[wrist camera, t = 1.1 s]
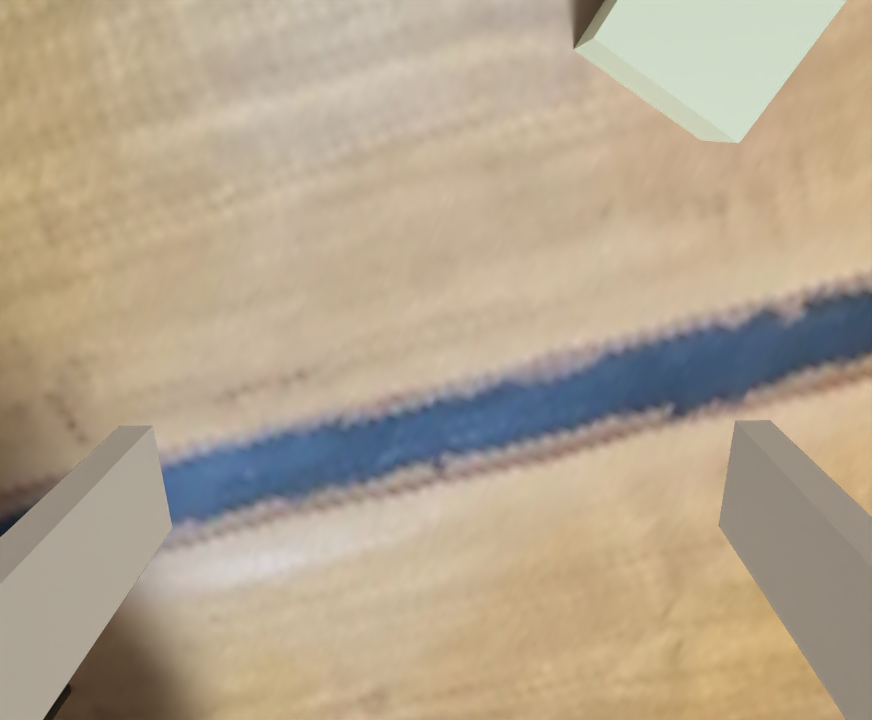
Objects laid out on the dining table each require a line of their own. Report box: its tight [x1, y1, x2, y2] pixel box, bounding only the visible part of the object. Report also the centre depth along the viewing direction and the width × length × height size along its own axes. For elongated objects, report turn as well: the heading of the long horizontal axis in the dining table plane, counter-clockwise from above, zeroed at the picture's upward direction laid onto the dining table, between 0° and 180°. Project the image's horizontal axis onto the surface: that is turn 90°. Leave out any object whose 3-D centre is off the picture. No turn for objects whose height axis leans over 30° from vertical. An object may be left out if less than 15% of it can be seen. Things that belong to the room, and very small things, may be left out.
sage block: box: [574, 0, 846, 143], centre depth 29 cm, size 8×8×5 cm
